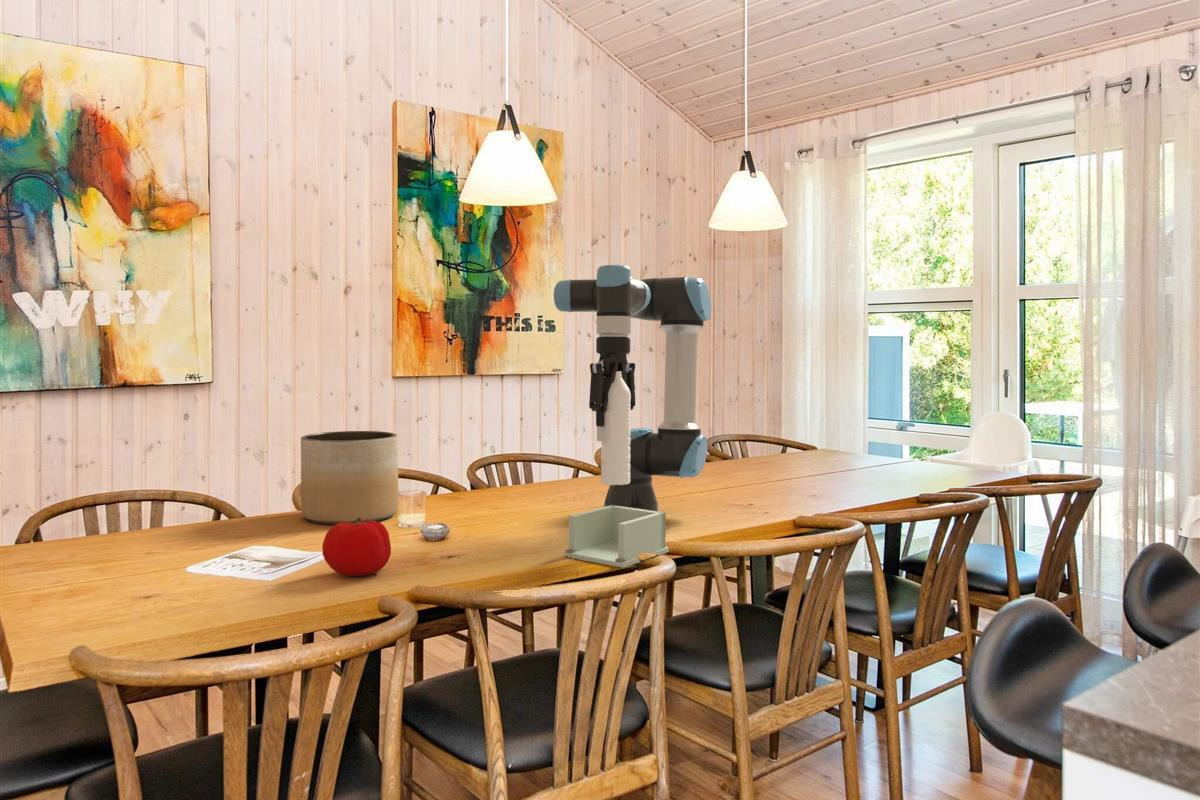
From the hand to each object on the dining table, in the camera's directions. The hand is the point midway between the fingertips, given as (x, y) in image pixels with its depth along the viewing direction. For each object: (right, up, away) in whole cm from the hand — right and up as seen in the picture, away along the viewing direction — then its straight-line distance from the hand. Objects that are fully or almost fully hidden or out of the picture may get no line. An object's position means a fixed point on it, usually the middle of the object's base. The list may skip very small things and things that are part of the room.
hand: (612, 439), depth 195 cm
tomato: (-52, -27, -16) cm, 61 cm away
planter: (-70, -23, +43) cm, 85 cm away
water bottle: (0, -10, +1) cm, 10 cm away
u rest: (+1, -26, +1) cm, 26 cm away
